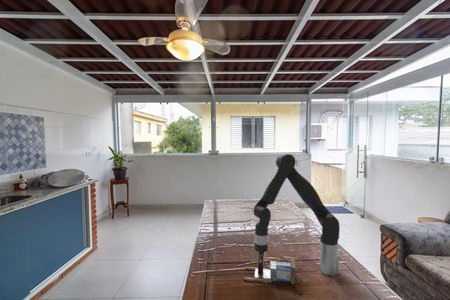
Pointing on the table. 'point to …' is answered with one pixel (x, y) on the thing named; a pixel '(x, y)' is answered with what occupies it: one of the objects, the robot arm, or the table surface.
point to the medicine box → (283, 271)
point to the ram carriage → (267, 272)
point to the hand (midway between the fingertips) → (260, 271)
